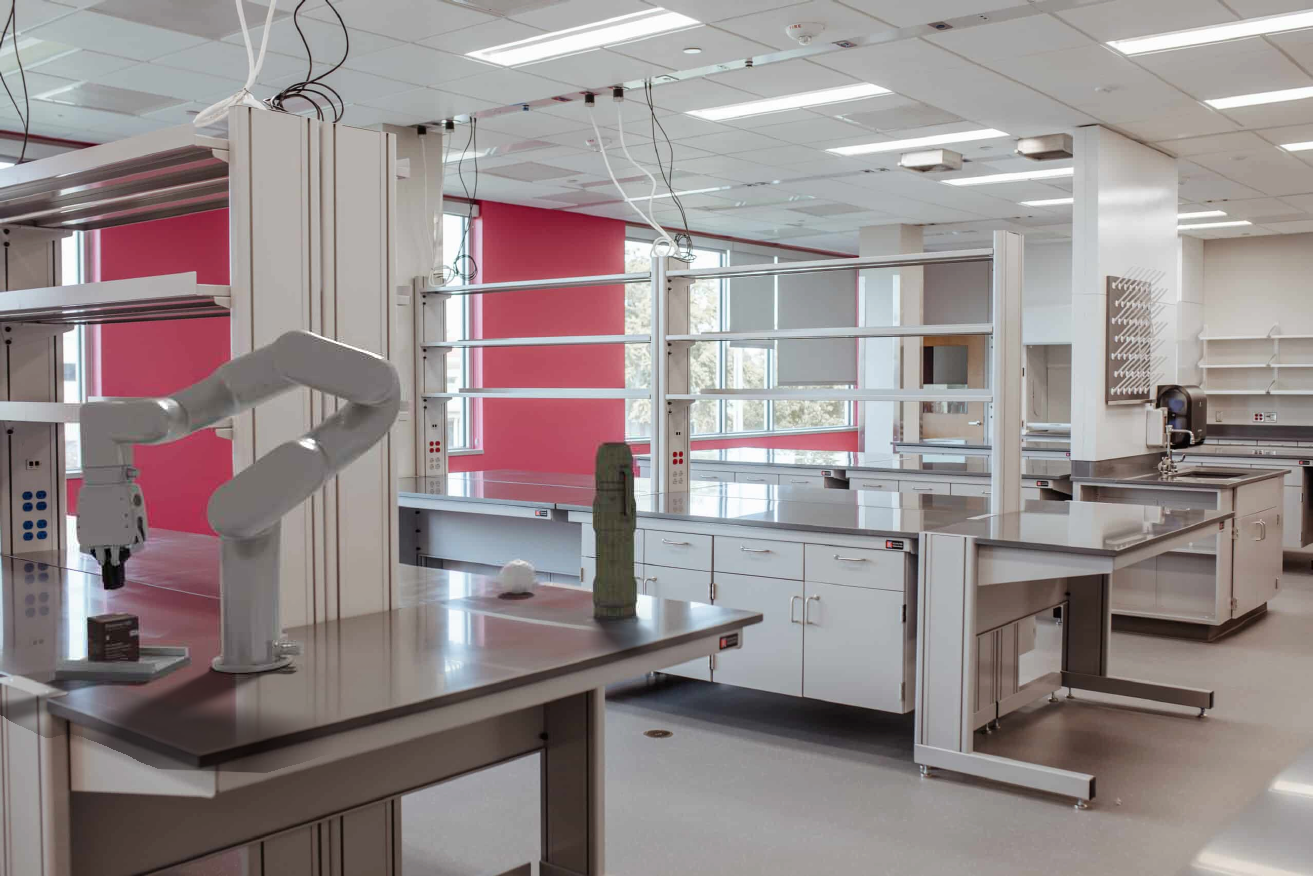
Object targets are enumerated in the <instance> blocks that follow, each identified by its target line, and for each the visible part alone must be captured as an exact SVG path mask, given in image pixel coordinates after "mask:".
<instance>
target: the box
mask: <svg viewBox="0 0 1313 876" xmlns="http://www.w3.org/2000/svg"><path fill="white" fill-rule="evenodd" d="M86 621H87V622H86V623H87V624H86V628H87V629H86V630H87V631H86V632H87V657H88V660H91V661H136V660H139V659H140V654H139V646H140V629H139V627H140V623H139V616H138V615H134V614H130V613H126V612H117V613H106V614H100V615H94V616H87V617H86Z"/></svg>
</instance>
